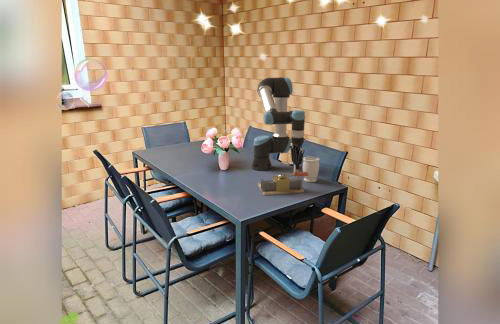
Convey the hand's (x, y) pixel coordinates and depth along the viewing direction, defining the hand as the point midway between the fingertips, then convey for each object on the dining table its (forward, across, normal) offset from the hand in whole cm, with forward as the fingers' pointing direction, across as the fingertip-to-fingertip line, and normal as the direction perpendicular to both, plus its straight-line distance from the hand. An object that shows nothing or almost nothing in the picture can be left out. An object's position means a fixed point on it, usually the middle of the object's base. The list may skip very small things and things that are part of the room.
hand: (296, 174), depth 216 cm
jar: (+10, -8, +17) cm, 21 cm away
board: (+9, -4, -9) cm, 13 cm away
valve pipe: (+9, 0, -10) cm, 14 cm away
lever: (+1, +2, -4) cm, 4 cm away
